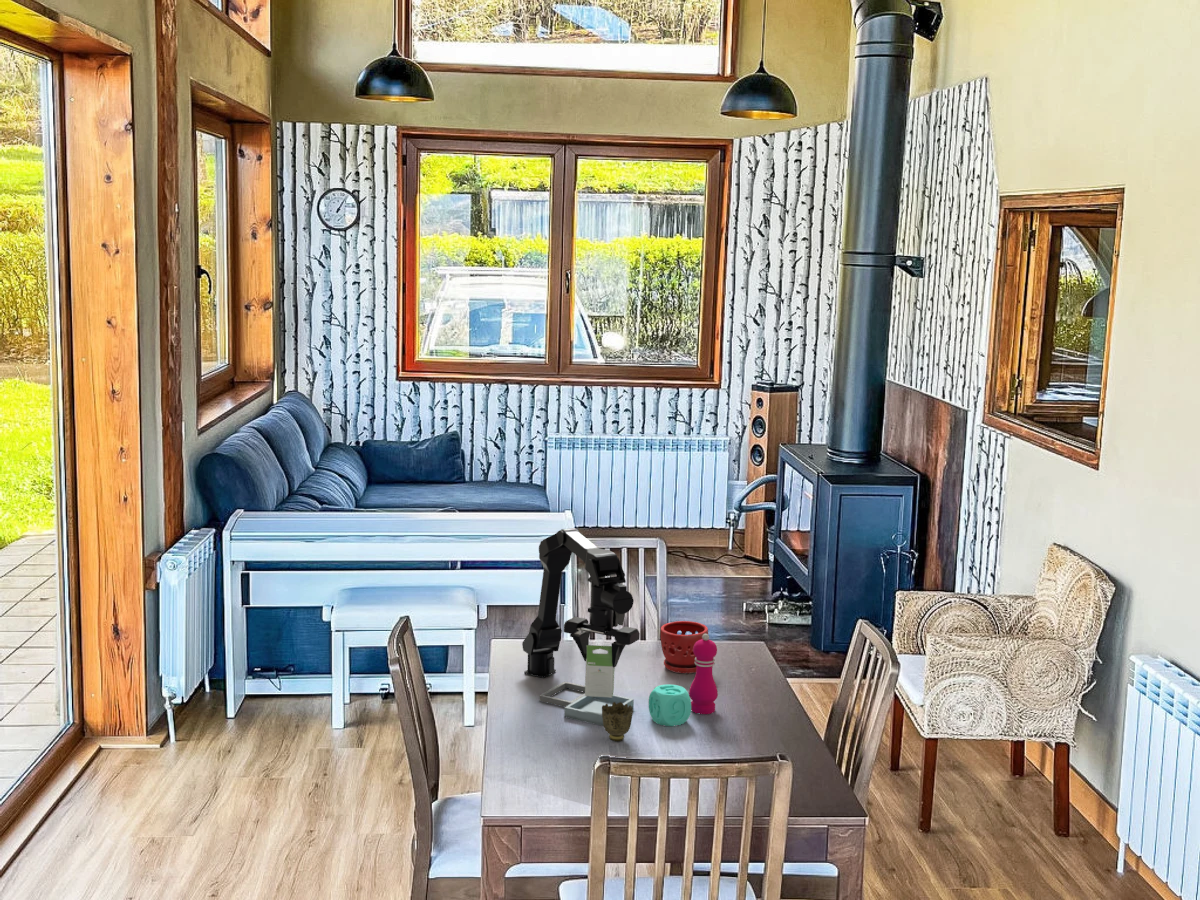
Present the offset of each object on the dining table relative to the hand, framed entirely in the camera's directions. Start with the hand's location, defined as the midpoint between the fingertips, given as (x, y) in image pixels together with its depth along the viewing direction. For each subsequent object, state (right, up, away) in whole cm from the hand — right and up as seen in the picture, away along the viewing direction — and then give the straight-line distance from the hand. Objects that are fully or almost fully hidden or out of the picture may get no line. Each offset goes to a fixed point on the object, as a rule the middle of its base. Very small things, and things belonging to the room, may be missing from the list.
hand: (600, 663), depth 316 cm
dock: (-8, -11, +12) cm, 18 cm away
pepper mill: (+26, -13, +6) cm, 29 cm away
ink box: (0, -8, +1) cm, 8 cm away
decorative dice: (+17, -14, -2) cm, 22 cm away
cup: (+4, -16, -15) cm, 22 cm away
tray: (0, -13, +2) cm, 13 cm away
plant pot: (+23, -8, +37) cm, 44 cm away
